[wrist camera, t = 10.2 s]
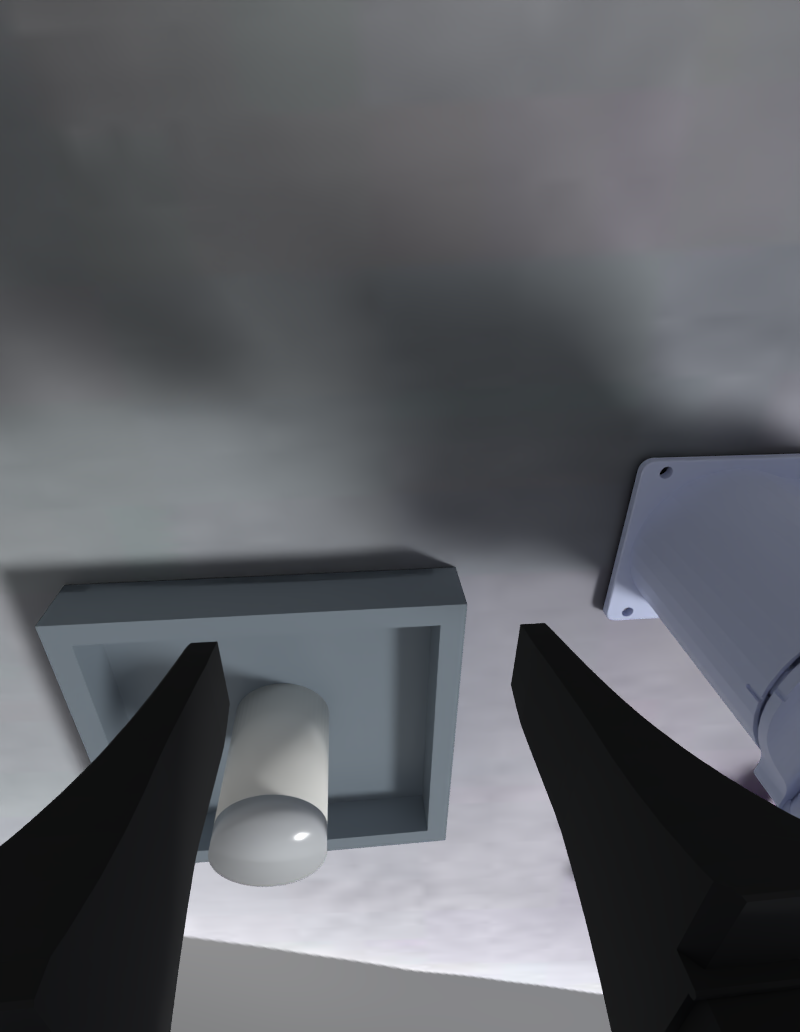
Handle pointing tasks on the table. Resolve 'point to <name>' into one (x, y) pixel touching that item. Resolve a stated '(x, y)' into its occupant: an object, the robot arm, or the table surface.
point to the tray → (290, 676)
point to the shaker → (274, 789)
